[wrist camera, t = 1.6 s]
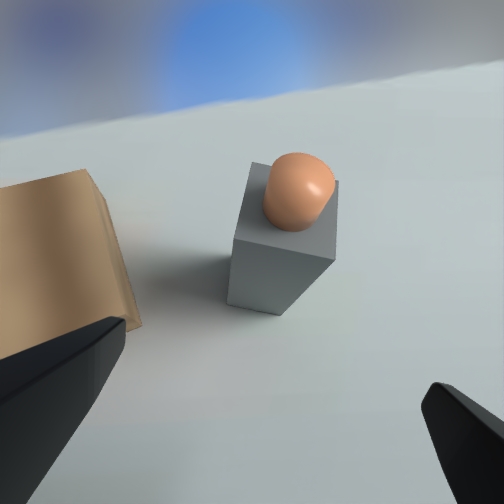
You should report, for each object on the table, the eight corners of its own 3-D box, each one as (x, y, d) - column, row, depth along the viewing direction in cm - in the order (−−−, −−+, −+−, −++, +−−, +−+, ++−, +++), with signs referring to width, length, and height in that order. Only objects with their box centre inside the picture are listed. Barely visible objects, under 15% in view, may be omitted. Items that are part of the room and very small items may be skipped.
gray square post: (280, 315, 21) (357, 237, 9) (226, 304, 21) (236, 211, 9) (287, 265, 23) (357, 149, 11) (237, 255, 23) (257, 127, 11)
